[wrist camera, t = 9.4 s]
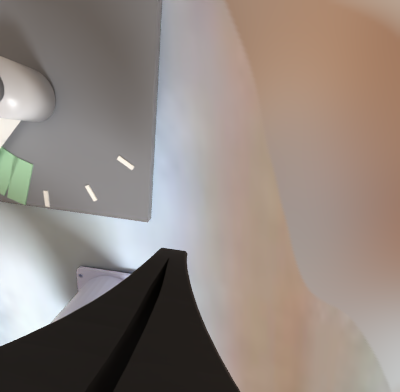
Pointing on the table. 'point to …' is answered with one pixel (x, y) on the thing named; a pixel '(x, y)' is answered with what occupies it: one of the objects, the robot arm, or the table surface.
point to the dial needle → (22, 96)
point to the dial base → (85, 105)
